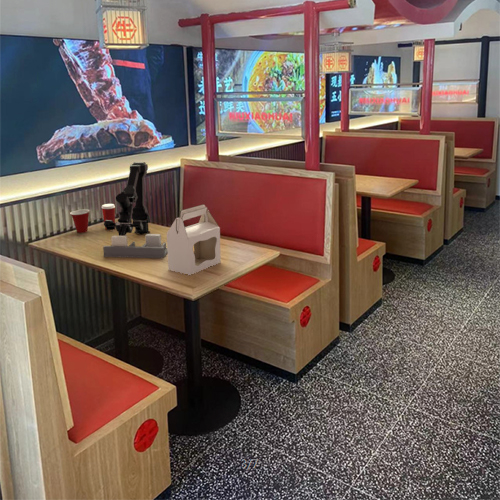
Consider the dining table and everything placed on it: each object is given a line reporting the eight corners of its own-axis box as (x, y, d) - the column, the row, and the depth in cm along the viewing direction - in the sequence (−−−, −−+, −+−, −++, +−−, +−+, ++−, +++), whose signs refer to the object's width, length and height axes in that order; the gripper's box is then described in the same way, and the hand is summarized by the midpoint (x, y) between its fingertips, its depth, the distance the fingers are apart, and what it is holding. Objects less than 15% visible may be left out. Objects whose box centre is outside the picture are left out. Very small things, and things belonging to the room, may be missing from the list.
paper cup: (119, 227, 320) (117, 204, 315) (112, 230, 313) (110, 207, 308) (107, 226, 322) (105, 203, 318) (100, 229, 315) (98, 206, 311)
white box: (148, 249, 275) (147, 233, 273) (161, 249, 275) (160, 234, 272) (146, 251, 272) (145, 235, 270) (160, 251, 272) (159, 235, 269)
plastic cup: (73, 229, 316) (71, 209, 313) (93, 228, 318) (91, 208, 314) (70, 234, 306) (67, 213, 303) (89, 233, 307) (87, 213, 304)
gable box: (189, 276, 241) (186, 214, 233) (167, 270, 249) (164, 210, 240) (221, 262, 258) (219, 204, 250) (200, 257, 266) (198, 201, 257)
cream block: (114, 250, 273) (113, 235, 271) (128, 250, 273) (127, 235, 270) (112, 252, 270) (111, 237, 268) (126, 253, 269) (125, 237, 267)
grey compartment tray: (112, 248, 280) (111, 239, 278) (169, 250, 277) (169, 240, 276) (103, 256, 268) (102, 247, 266) (163, 258, 265) (163, 248, 263)
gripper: (147, 221, 285) (143, 248, 278) (112, 220, 287) (107, 247, 279) (142, 210, 275) (137, 237, 268) (106, 209, 277) (100, 236, 270)
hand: (120, 240), depth 271 cm, fingers closed, pressing on cream block
